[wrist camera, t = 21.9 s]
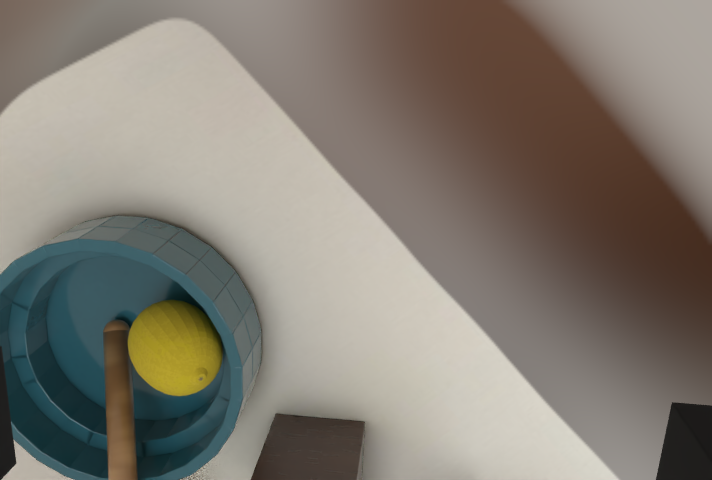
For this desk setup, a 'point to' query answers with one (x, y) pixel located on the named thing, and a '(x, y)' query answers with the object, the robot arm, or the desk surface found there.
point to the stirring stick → (119, 402)
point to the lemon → (175, 347)
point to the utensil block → (311, 449)
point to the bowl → (86, 352)
